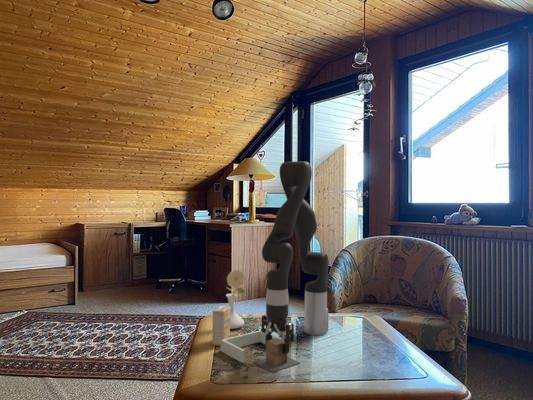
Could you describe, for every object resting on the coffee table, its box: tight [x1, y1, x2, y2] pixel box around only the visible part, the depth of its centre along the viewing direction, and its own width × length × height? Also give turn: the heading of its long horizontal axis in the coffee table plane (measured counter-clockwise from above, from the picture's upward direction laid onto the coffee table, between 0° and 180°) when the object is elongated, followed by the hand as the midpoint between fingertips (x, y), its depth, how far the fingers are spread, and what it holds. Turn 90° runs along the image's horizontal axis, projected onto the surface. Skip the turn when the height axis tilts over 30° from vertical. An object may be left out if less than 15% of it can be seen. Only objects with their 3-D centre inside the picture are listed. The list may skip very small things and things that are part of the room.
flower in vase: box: [225, 269, 247, 330], centre depth 172 cm, size 13×11×25 cm
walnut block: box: [265, 337, 288, 366], centre depth 134 cm, size 5×5×7 cm
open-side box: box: [220, 330, 278, 364], centre depth 144 cm, size 18×14×4 cm
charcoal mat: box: [253, 356, 301, 374], centre depth 134 cm, size 12×10×1 cm
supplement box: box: [211, 305, 231, 347], centre depth 153 cm, size 8×5×13 cm, turn 168°
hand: (276, 350), depth 134 cm, fingers open, 8 cm apart
